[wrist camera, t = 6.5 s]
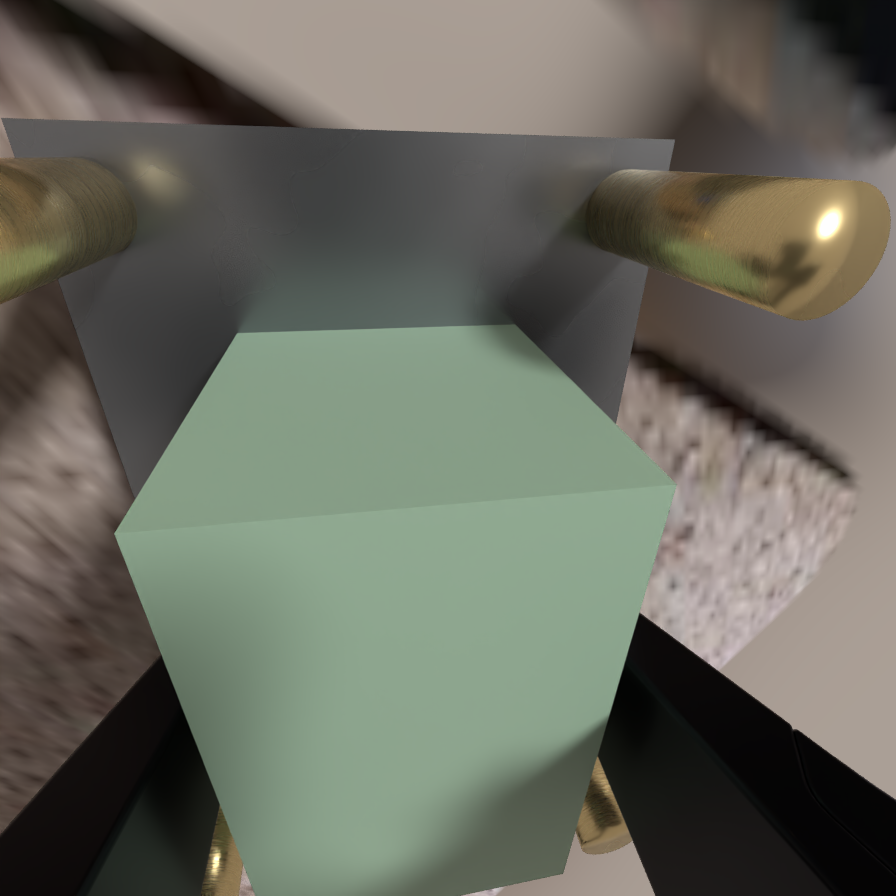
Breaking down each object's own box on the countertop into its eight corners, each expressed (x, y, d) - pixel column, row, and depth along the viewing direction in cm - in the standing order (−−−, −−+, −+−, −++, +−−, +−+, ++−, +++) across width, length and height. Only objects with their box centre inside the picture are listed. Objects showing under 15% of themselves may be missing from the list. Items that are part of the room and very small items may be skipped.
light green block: (488, 626, 12) (562, 873, 8) (298, 651, 12) (270, 935, 7) (514, 323, 9) (676, 484, 4) (238, 331, 8) (114, 534, 4)
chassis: (546, 650, 15) (630, 856, 11) (228, 695, 14) (172, 955, 9) (635, 141, 9) (941, 127, 4) (50, 123, 7) (-420, 74, 3)
